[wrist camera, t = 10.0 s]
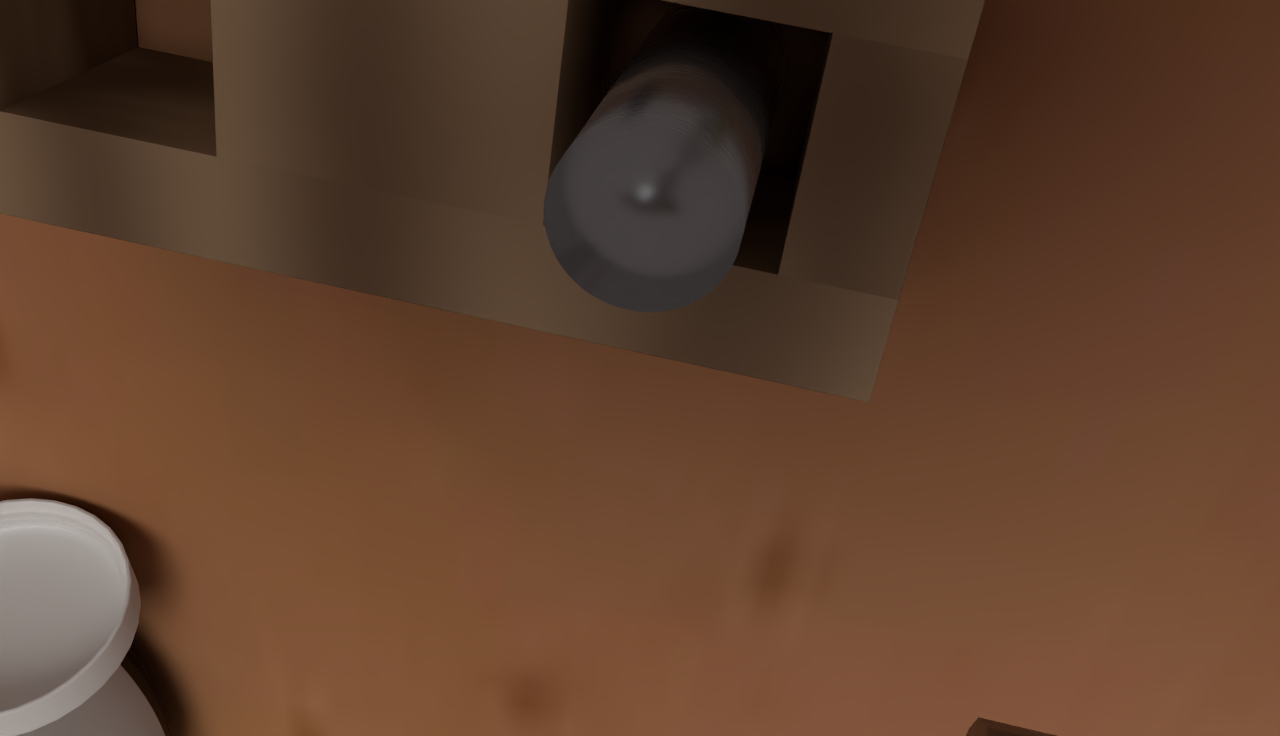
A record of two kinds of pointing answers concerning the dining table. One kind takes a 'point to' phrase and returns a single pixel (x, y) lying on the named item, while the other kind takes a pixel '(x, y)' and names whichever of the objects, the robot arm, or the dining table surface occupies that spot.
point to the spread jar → (69, 628)
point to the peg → (669, 162)
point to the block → (476, 160)
